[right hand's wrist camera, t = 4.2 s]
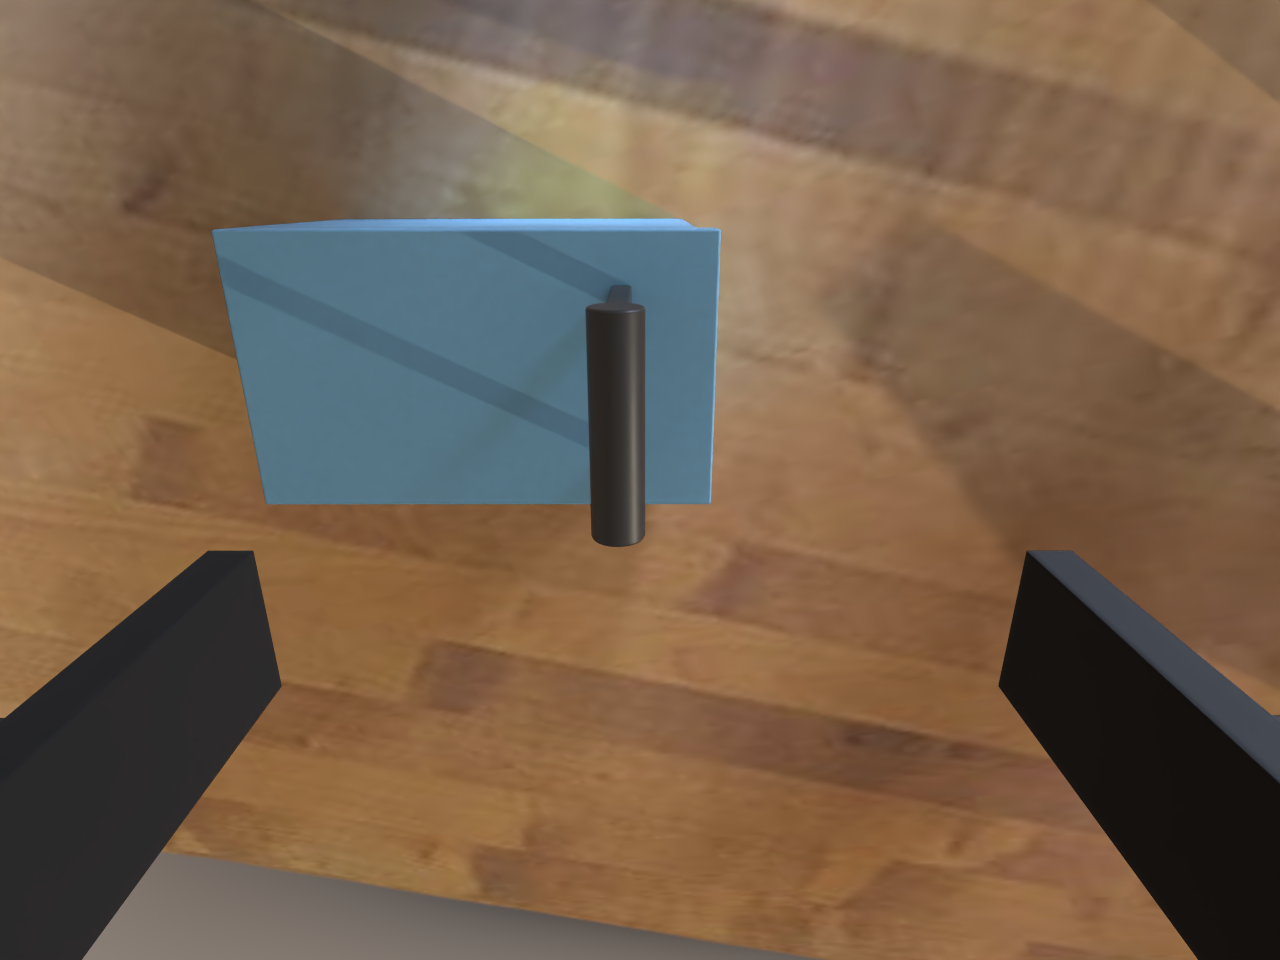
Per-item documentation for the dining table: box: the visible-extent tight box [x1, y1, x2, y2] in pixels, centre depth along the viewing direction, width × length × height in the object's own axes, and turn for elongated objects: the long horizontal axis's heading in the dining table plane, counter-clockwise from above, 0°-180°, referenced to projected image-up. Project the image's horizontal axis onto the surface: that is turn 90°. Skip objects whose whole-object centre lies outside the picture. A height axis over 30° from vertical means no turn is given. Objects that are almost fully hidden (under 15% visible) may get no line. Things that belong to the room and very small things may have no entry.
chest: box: [238, 219, 696, 228], centre depth 32 cm, size 16×10×10 cm, turn 90°
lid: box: [212, 228, 721, 547], centre depth 23 cm, size 17×10×8 cm, turn 90°
